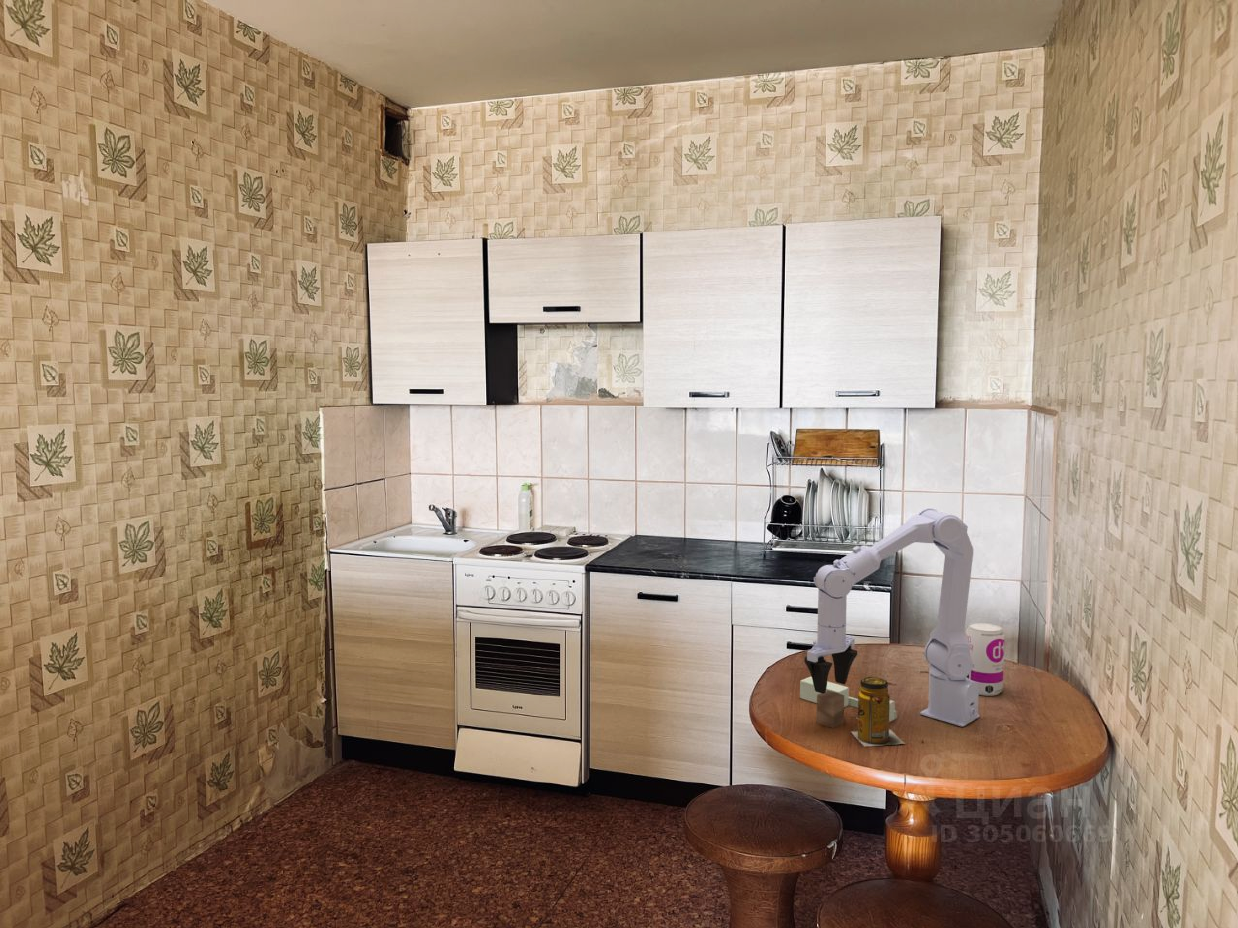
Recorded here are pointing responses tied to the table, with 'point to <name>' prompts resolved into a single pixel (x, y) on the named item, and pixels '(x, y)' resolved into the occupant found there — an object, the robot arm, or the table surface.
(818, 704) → the walnut key block
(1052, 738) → the table surface
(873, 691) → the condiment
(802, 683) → the sage bar
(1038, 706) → the table surface
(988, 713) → the table surface
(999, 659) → the supplement can
